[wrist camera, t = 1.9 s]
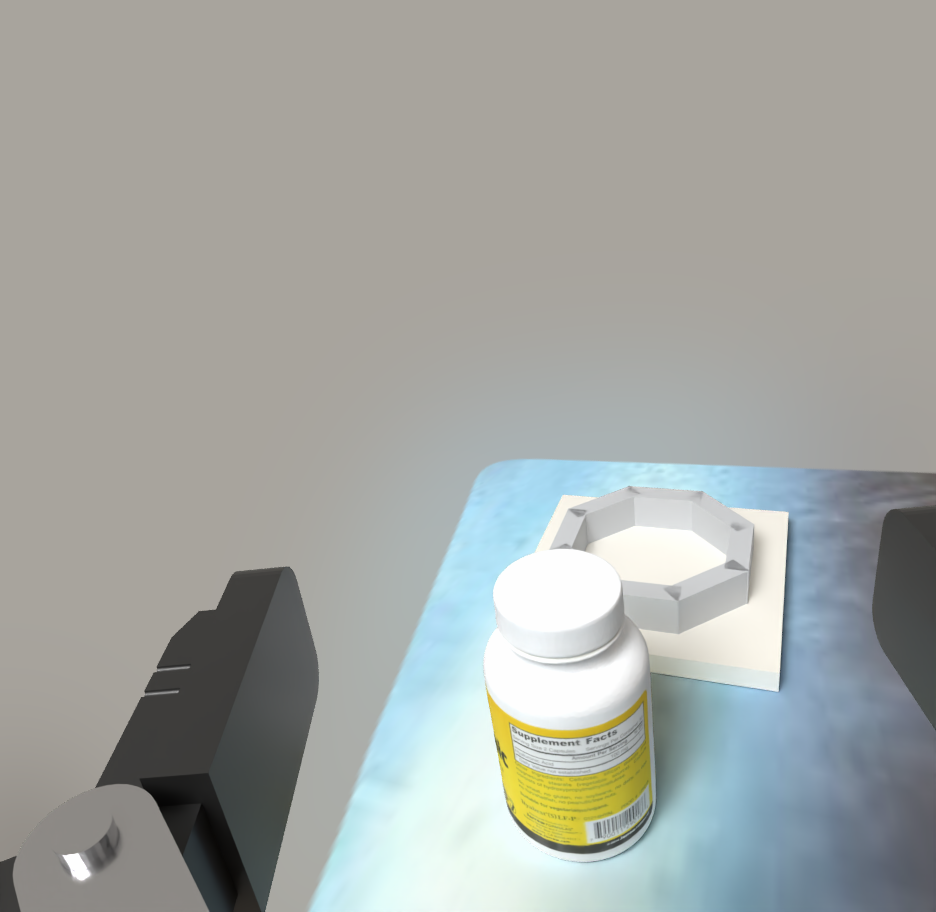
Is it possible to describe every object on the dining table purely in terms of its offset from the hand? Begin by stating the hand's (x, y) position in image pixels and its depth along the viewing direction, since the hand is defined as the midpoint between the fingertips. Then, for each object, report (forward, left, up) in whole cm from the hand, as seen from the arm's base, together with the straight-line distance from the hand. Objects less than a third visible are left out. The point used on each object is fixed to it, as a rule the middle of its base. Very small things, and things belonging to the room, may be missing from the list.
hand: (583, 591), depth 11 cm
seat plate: (+3, -24, -18) cm, 30 cm away
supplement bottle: (+4, -11, -18) cm, 21 cm away
